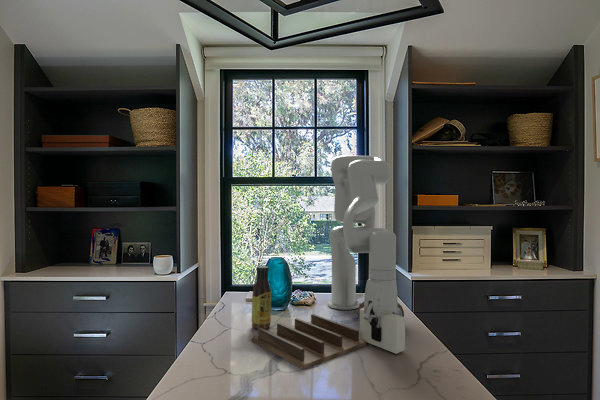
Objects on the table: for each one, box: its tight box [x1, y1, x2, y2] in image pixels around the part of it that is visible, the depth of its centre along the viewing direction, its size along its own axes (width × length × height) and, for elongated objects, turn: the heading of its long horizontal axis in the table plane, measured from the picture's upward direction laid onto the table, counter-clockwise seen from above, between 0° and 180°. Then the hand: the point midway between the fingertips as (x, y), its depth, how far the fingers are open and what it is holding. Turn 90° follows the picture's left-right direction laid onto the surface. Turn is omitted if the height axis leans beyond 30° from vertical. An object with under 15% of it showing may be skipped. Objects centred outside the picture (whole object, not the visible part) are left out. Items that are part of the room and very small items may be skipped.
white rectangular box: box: [359, 308, 406, 354], centre depth 107 cm, size 4×13×9 cm, turn 40°
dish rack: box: [250, 313, 368, 370], centre depth 110 cm, size 24×24×4 cm
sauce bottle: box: [251, 265, 272, 330], centre depth 123 cm, size 6×6×20 cm
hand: (381, 337), depth 107 cm, fingers closed on white rectangular box, 4 cm apart
